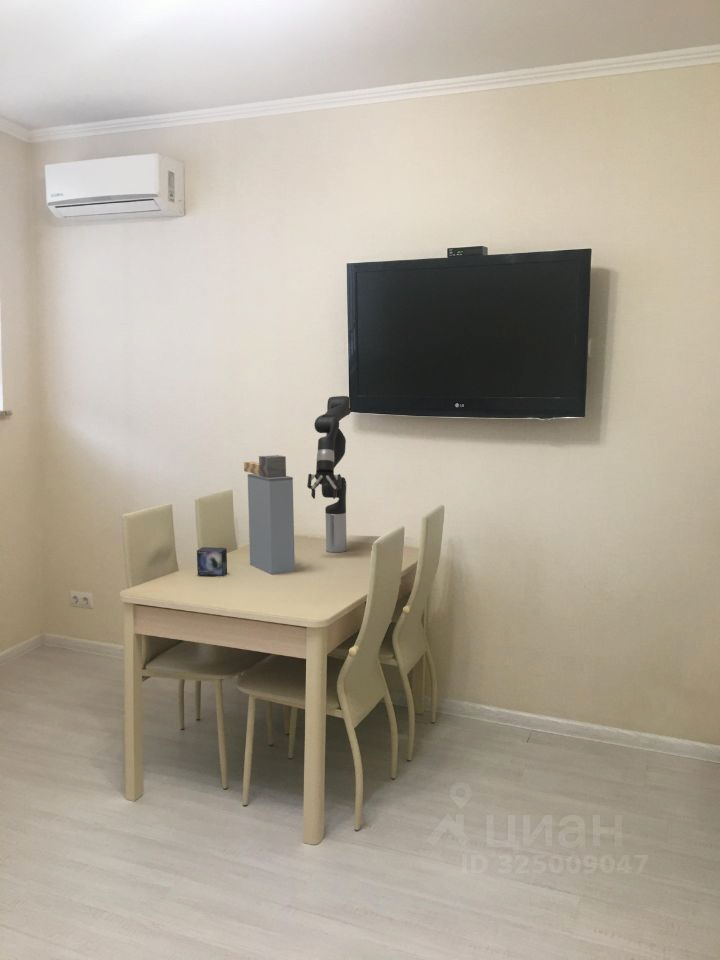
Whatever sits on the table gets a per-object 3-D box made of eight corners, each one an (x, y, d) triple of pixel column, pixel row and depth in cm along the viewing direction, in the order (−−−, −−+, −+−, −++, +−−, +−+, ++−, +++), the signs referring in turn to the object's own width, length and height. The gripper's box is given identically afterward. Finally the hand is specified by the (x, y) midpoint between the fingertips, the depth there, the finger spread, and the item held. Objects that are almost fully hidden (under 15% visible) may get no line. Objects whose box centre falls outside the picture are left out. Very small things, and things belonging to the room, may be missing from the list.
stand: (250, 564, 340) (247, 474, 335) (272, 561, 345) (269, 472, 340) (271, 574, 321) (269, 479, 317) (294, 571, 326) (292, 477, 322)
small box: (196, 576, 320) (195, 550, 319) (202, 572, 327) (201, 546, 325) (222, 577, 318) (221, 550, 317) (228, 573, 325) (227, 547, 323)
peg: (239, 471, 345) (239, 452, 344) (257, 470, 349) (256, 451, 349) (267, 477, 321) (267, 457, 320) (286, 476, 325) (285, 456, 324)
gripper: (342, 464, 351) (341, 500, 347) (309, 463, 352) (308, 500, 348) (341, 459, 344) (340, 496, 340) (307, 458, 345) (306, 496, 341)
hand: (323, 498), depth 344 cm, fingers open, 8 cm apart
